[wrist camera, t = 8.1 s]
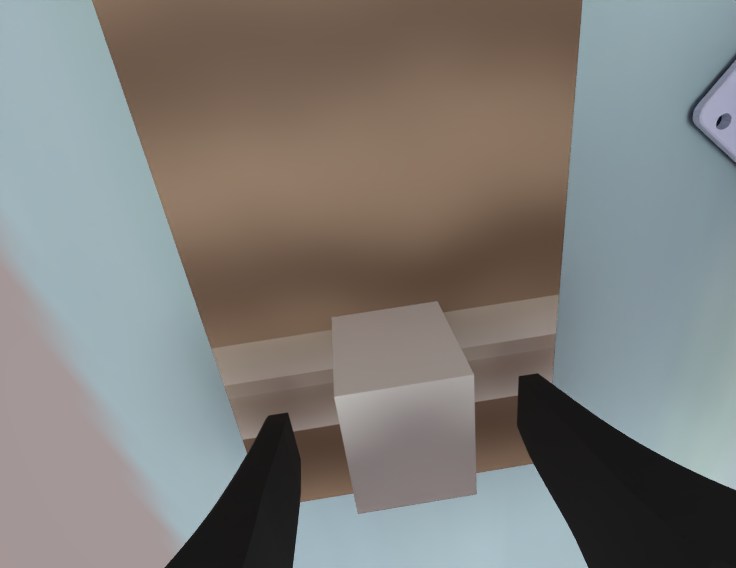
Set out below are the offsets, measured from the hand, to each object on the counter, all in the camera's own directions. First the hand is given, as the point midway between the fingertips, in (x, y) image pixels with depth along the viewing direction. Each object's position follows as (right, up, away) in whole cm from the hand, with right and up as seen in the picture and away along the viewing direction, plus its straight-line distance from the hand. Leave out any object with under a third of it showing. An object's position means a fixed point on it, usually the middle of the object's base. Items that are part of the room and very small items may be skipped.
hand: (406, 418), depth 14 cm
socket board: (-1, +8, +2) cm, 8 cm away
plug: (-1, +2, +4) cm, 5 cm away
